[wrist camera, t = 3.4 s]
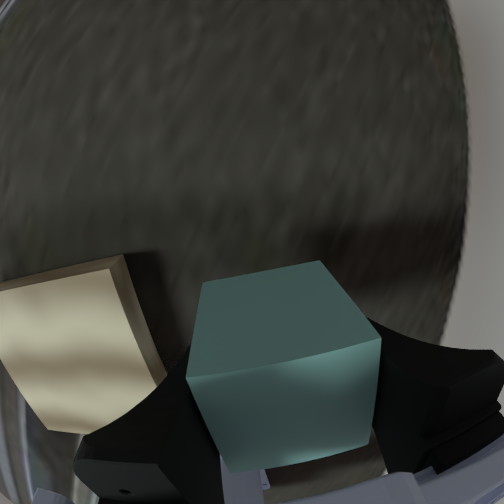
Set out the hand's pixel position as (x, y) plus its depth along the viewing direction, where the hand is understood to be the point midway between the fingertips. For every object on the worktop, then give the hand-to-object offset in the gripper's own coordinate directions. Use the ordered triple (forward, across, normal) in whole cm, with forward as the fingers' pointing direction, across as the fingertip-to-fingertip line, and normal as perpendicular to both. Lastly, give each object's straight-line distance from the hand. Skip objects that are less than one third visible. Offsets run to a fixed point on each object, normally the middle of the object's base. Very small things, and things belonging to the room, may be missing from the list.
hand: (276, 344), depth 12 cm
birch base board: (+7, +15, +4) cm, 17 cm away
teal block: (+2, 0, 0) cm, 2 cm away
